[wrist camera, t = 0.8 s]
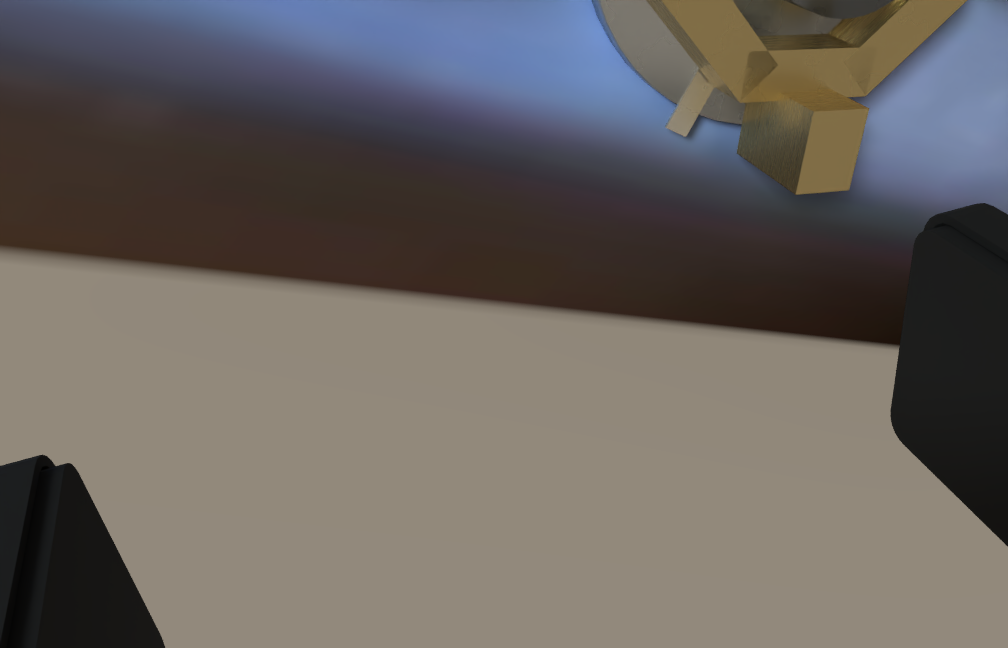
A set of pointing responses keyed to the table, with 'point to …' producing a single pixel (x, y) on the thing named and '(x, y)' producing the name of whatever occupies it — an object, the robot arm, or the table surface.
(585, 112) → the table surface
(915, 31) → the locking ring
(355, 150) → the table surface
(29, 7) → the table surface
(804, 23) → the flange
